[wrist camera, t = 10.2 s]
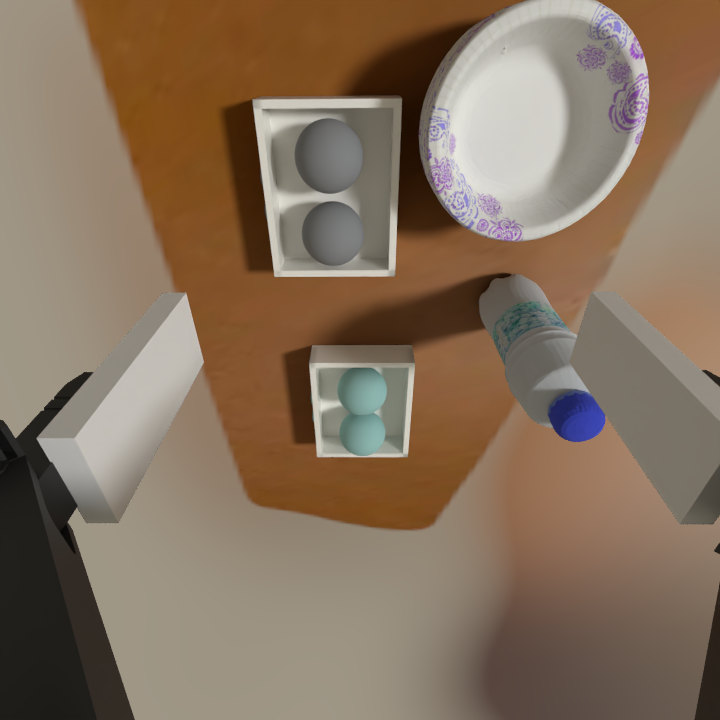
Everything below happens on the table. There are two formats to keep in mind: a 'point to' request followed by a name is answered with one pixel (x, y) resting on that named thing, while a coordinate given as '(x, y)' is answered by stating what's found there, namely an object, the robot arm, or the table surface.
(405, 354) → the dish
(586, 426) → the bottle
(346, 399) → the teal ball
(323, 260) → the charcoal ball
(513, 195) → the paper bowls
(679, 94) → the table surface
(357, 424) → the teal ball
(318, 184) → the charcoal ball
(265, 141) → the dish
